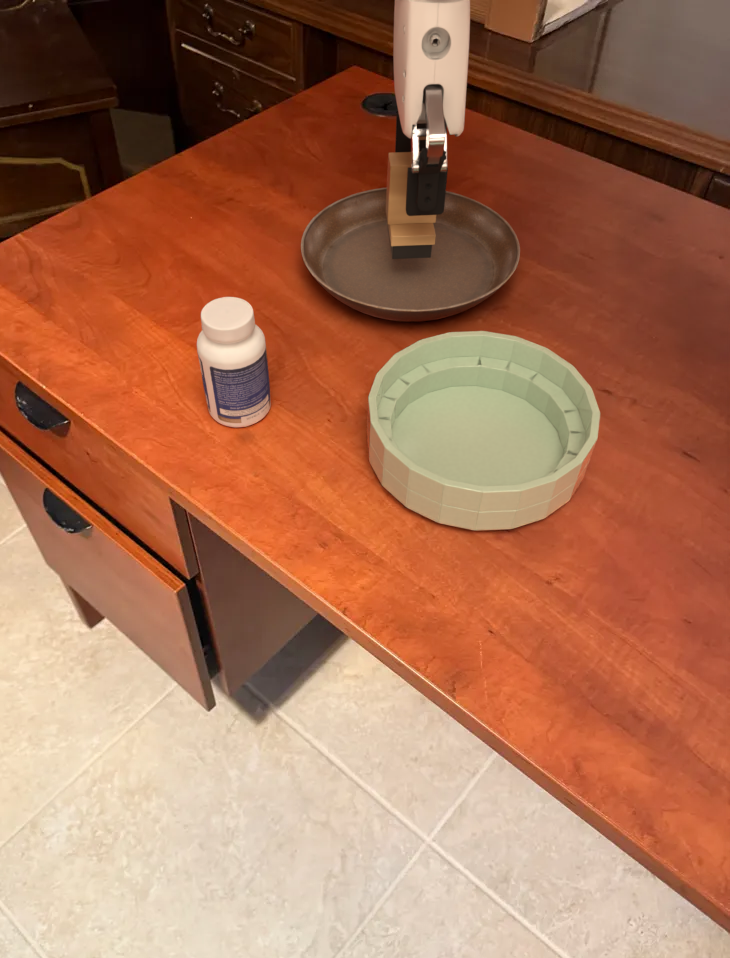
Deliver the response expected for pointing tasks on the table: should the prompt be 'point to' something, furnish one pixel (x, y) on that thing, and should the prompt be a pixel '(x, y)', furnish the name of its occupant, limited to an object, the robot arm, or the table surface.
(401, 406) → the bowl
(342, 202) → the plant saucer
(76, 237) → the table surface
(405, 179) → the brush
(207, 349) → the pill bottle
